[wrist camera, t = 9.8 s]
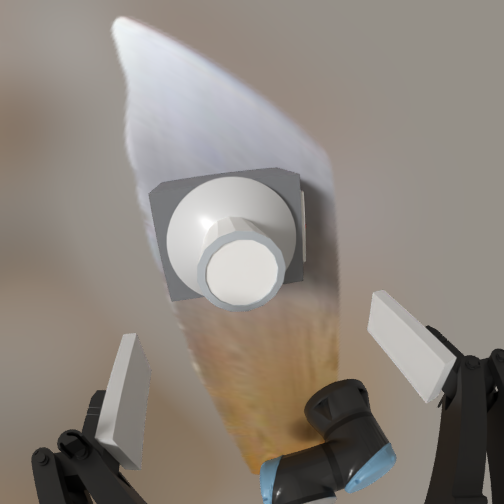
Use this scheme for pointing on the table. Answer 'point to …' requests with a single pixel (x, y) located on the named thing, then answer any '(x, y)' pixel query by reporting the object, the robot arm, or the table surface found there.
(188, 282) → the dial scale
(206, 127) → the table surface
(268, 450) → the table surface
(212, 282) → the shot glass
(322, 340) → the table surface
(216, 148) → the table surface
